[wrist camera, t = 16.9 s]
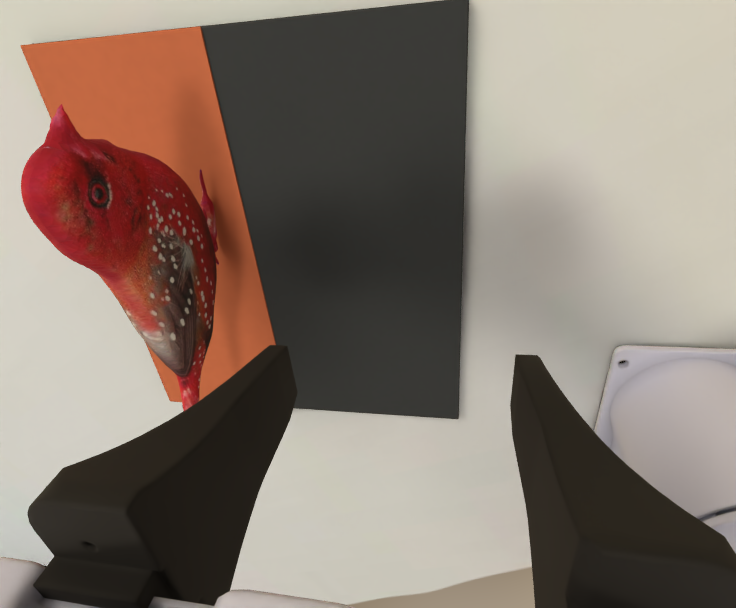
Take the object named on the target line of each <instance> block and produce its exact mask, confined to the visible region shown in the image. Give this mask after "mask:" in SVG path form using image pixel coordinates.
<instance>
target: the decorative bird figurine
mask: <svg viewBox="0 0 736 608" xmlns="http://www.w3.org/2000/svg"><path fill="white" fill-rule="evenodd" d="M199 180H200V184H201V189H202V199H201V203H200V205H199V203H198V201H197V199H196V198H195V196H194V195H193V193H192V191H191V189H190V188H189V187H188V185H187V184H186V183H185V181H184V180H183V179H182V178H181V177H180V176H179V175H178V174H177V173H176V172H175V171H173V170H172V169H171V168H170V167H169V166H168V165H166V164H165V163H163V162H162V161H160V160H158V159H156V158H154V157H152V156H150V155H147V154H145V153H141V152H136V151H130V150H127V149H124V148H121V147H117V146H115V145H114V144H112V143H111V142H109V141H107V140H104V139H84V138H83V137H81V136H80V134H79V133H78V132H77V130H76V129H75V127H74V125H73V124H72V122H71V121H70V119H69V116H68V114H67V113H66V112H65V111H64V108H63V105H62V104H61V105H60V106H59V107H58V108H57V112H56V114H55V116H54V117H53V118H52V120H51V124H50V130H49V131H48V134H47V137H46V140H45V143H44V144H43V145H42V146H41V147H39V148H38V149H37V150H36V151H35V152H34V153H33V154H32V155H31V157H30V158H29V160H28V161H27V163H26V165H25V168H24V170H23V174H22V180H21V191H22V198H23V202H24V205H25V207H26V210H27V212H28V213H29V215H30V217H31V219H32V220H33V222H34V223H35V224H36V226H37V227H38V228H39V229H40V231H41V232H42V233H43V234H44V235H45V236H46V238H47V239H49V240H50V241H51V243H52V244H53V245H54V246H55V247H56V248H57V249H58V250H59V251H60V252H61V253H62V254H64V255H65V256H67V257H68V258H69V259H71V260H73V261H75V262H77V263H79V264H81V265H84V266H85V267H87V268H89V269H91V270H92V271H94V272H96V273H97V274H98V275H99V276H100V277H101V278H102V279H103V281H104V282H105V283H106V285H107V286H108V287H109V288H110V290H111V291H112V293H113V294H114V295H115V297H116V298H117V300H118V301H119V303H120V305H121V306H122V308H123V309H124V311H125V313H126V314H127V316H128V318H129V319H130V321H131V322H132V324H133V326H134V327H135V329H136V330H137V332H138V333H139V334H140V335H141V337H142V338H143V339H144V341H145V342H146V343H147V345H148V346H149V347H150V349H151V350H152V351H153V352H154V353H155V354H156V355H157V356H158V357H159V359H160V360H161V361H162V362H163V363H164V364H165V365H166V366H167V367H169V368H170V369H171V370H172V371H173V372H174V373H175V374H176V376H177V379H178V382H179V387H180V392H181V399H182V404H183V409H184V411H185V410H187V409H188V408H190V407H191V406H193V405H194V404H196V403H197V402H199V388H200V377H201V370H202V366H203V363H204V360H205V356H206V353H207V350H208V347H209V343H210V340H211V337H212V332H213V322H214V303H215V294H216V282H217V268H216V263H217V264H218V265H219V261H218V259H217V257H216V254H215V252H217V250H218V245H217V241H216V238H217V229H216V220H215V210H214V205H213V202H212V201H211V200H210V198H209V196H208V194H207V190H206V186H205V183H204V179H203V175H202V170H201V169H200V175H199Z"/></svg>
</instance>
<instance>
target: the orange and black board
mask: <svg viewBox="0 0 736 608" xmlns="http://www.w3.org/2000/svg"><path fill="white" fill-rule="evenodd" d="M468 13H469V0H444V1H435V2H425V3H416V4H407V5H397V6H388V7H379V8H369V9H360V10H350V11H341V12H332V13H322V14H313V15H303V16H294V17H285V18H275V19H266V20H256V21H247V22H238V23H228V24H219V25H209V26H199V27H190V28H180V29H171V30H162V31H152V32H143V33H133V34H124V35H115V36H105V37H96V38H86V39H77V40H68V41H58V42H49V43H39V44H30V45H21V48H22V51H23V53H24V55H25V58H26V60H27V63H28V65H29V67H30V70H31V72H32V74H33V77H34V79H35V82H36V84H37V86H38V89H39V91H40V93H41V96H42V98H43V101H44V103H45V105H46V108H47V110H48V112H49V115H50V117H51V120H52V118H53V117H54V116H55V114H56V112H57V108H58V107H59V106H60V105H61V104H62V105H63V108H64V111H65V112H66V113H67V114H68V116H69V119H70V121H71V122H72V124H73V125H74V127H75V129H76V130H77V132H78V133H79V134H80V136H81V137H83V138H84V139H104V140H107V141H109V142H111V143H112V144H114V145H115V146H117V147H121V148H124V149H127V150H130V151H136V152H141V153H145V154H147V155H150V156H152V157H154V158H156V159H158V160H160V161H162V162H163V163H165V164H166V165H168V166H169V167H170V168H171V169H172V170H173V171H175V172H176V173H177V174H178V175H179V176H180V177H181V178H182V179H183V180H184V181H185V183H186V184H187V185H188V187H189V188H190V189H191V191H192V193H193V195H194V196H195V198H196V199H197V201H198V203H199V205H200V203H201V199H202V189H201V184H200V180H199V175H200V169H201V170H202V175H203V179H204V183H205V186H206V190H207V194H208V196H209V198H210V200H211V201H212V202H213V205H214V210H215V220H216V229H217V238H216V241H217V245H218V250H217V252H215V254H216V257H217V259H218V261H219V265H218V264H217V263H216V268H217V282H216V294H215V303H214V322H213V332H212V337H211V340H210V343H209V347H208V350H207V353H206V356H205V360H204V363H203V366H202V370H201V377H200V388H199V401H200V400H201V399H203V398H204V397H205V396H207V395H208V394H209V393H211V392H212V391H213V390H215V389H216V388H217V387H219V386H220V385H221V384H223V383H224V382H225V381H227V380H228V379H229V378H230V377H232V376H233V375H234V374H235V373H236V372H238V371H239V370H240V369H241V368H243V367H244V366H245V365H246V364H247V363H248V362H250V361H251V360H252V359H253V358H254V357H256V356H257V355H258V354H259V353H260V352H262V351H263V350H264V349H265V348H267V347H268V346H269V345H284V346H288V351H289V355H290V360H291V364H292V369H293V373H294V378H295V382H296V387H297V392H298V393H297V397H296V400H295V404H294V408H299V409H314V410H329V411H344V412H359V413H374V414H389V415H404V416H419V417H434V418H449V419H458V416H459V376H460V335H461V295H462V255H463V215H464V174H465V134H466V94H467V53H468ZM145 343H146V342H145ZM146 345H147V343H146ZM147 347H148V350H149V352H150V354H151V357H152V359H153V362H154V364H155V366H156V369H157V371H158V373H159V376H160V378H161V381H162V383H163V385H164V388H165V390H166V392H167V395H168V397H169V400H170V401H174V402H182V399H181V392H180V387H179V382H178V379H177V376H176V374H175V373H174V372H173V371H172V370H171V369H170V368H169V367H167V366H166V365H165V364H164V363H163V362H162V361H161V360H160V359H159V357H158V356H157V355H156V354H155V353H154V352H153V351H152V350H151V349H150V347H149V346H148V345H147Z"/></svg>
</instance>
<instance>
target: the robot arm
mask: <svg viewBox="0 0 736 608" xmlns="http://www.w3.org/2000/svg"><path fill="white" fill-rule="evenodd" d="M623 360H625V361H626V362H624V363H619V362H620V361H623ZM297 393H298V392H297V387H296V382H295V378H294V373H293V369H292V364H291V360H290V355H289V351H288V346H284V345H269V346H268V347H267V348H265V349H264V350H263V351H262V352H260V353H259V354H258V355H257V356H256V357H254V358H253V359H252V360H251V361H250V362H248V363H247V364H246V365H245V366H244V367H243V368H241V369H240V370H239V371H238V372H236V373H235V374H234V375H233V376H232V377H230V378H229V379H228V380H227V381H225V382H224V383H223V384H221V385H220V386H219V387H217V388H216V389H215V390H213V391H212V392H211V393H209V394H208V395H207V396H205V397H204V398H203V399H201V400H200V401H199V402H197V403H196V404H194V405H193V406H191V407H190V408H188V409H187V410H185V411H183V412H182V413H180V414H179V415H177V416H176V417H174V418H172V419H171V420H169V421H167V422H165V423H163V424H162V425H160V426H158V427H156V428H154V429H152V430H151V431H149V432H147V433H145V434H143V435H141V436H139V437H137V438H135V439H133V440H131V441H129V442H127V443H125V444H122V445H120V446H118V447H116V448H113V449H111V450H109V451H107V452H104V453H102V454H99V455H97V456H94V457H91V458H89V459H86V460H84V461H81V462H78V463H76V464H73V465H70V466H67V467H65V468H63V469H62V470H61V471H60V472H59V473H58V474H57V476H56V477H55V478H54V479H53V480H52V481H51V482H50V484H49V485H48V486H47V487H46V488H45V489H44V490H43V492H42V493H41V494H40V495H39V496H38V497H37V498H36V499H35V501H34V502H33V503H32V504H31V505H30V506H29V509H28V518H29V522H30V524H31V526H32V527H33V529H34V530H35V532H36V533H37V534H38V535H39V537H40V538H41V539H42V541H43V542H44V543H45V544H46V546H47V547H48V548H49V549H50V551H51V552H52V553H53V554H54V558H53V559H52V560H51V562H50V563H49V564H48V566H47V567H44V566H43V565H41V564H39V563H36V562H32V561H26V560H19V559H13V558H6V557H1V558H0V608H354V607H350V606H347V605H343V604H340V603H334V602H328V601H321V600H314V599H308V598H301V597H294V596H288V595H281V594H274V593H268V592H261V591H254V590H231V591H230V588H231V584H232V580H233V576H234V572H235V569H236V565H237V561H238V558H239V554H240V550H241V547H242V543H243V540H244V537H245V533H246V530H247V527H248V523H249V520H250V517H251V514H252V511H253V508H254V504H255V501H256V498H257V495H258V492H259V489H260V487H261V484H262V482H263V479H264V477H265V475H266V472H267V470H268V468H269V466H270V464H271V461H272V459H273V457H274V455H275V452H276V450H277V448H278V446H279V443H280V441H281V439H282V437H283V434H284V432H285V430H286V428H287V425H288V423H289V421H290V418H291V414H292V411H293V408H294V404H295V400H296V397H297ZM510 406H511V421H512V435H513V441H514V446H515V451H516V457H517V462H518V467H519V472H520V477H521V482H522V488H523V493H524V498H525V503H526V510H527V516H528V525H529V536H530V547H531V559H532V571H533V582H534V597H535V608H736V349H721V348H692V347H663V346H633V345H623V346H619V347H617V348H616V349H615V350H614V352H613V356H612V360H611V364H610V368H609V372H608V376H607V380H606V384H605V388H604V392H603V396H602V400H601V405H600V409H599V413H598V417H597V421H596V425H595V429H594V431H593V430H592V429H591V428H590V427H589V425H588V424H587V423H586V422H585V421H584V420H583V418H582V417H581V416H580V415H579V413H578V412H577V411H576V410H575V409H574V407H573V406H572V405H571V403H570V402H569V401H568V399H567V398H566V397H565V395H564V394H563V393H562V391H561V390H560V388H559V387H558V385H557V384H556V383H555V381H554V380H553V378H552V377H551V375H550V373H549V372H548V370H547V369H546V367H545V365H544V364H543V362H542V360H541V359H540V358H539V357H538V356H537V355H516V357H515V367H514V376H513V386H512V395H511V405H510Z"/></svg>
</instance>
